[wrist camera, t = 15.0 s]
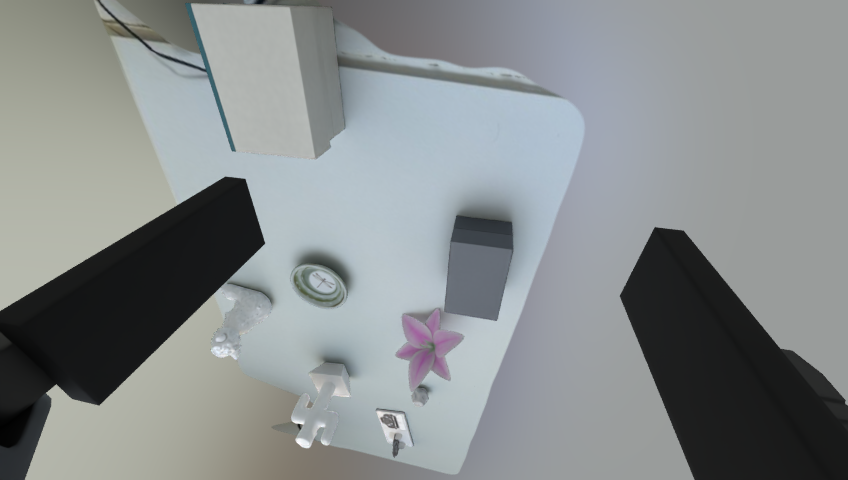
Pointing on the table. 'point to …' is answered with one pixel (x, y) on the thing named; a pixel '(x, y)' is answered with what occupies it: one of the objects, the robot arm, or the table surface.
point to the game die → (420, 397)
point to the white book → (264, 77)
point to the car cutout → (395, 429)
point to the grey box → (478, 267)
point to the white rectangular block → (327, 66)
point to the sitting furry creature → (239, 319)
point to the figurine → (321, 403)
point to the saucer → (319, 286)
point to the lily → (426, 348)
